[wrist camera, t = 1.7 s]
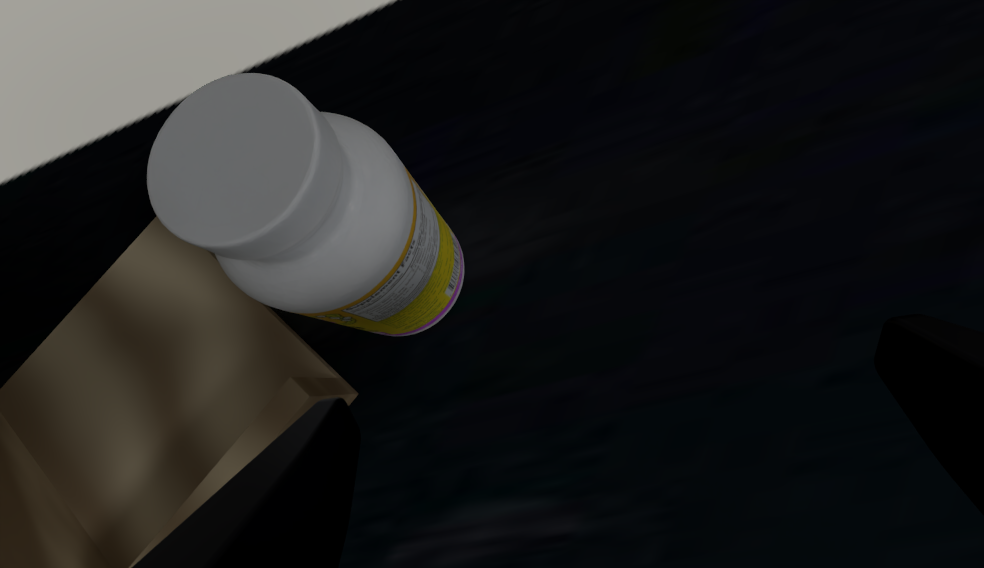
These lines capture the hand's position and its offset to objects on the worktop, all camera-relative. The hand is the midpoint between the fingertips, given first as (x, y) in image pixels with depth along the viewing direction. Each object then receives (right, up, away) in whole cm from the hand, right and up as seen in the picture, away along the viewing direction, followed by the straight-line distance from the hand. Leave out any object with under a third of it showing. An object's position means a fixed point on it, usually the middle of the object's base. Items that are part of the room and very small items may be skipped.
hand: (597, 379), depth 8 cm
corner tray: (-19, -4, +16) cm, 25 cm away
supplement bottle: (-6, +2, +16) cm, 17 cm away
